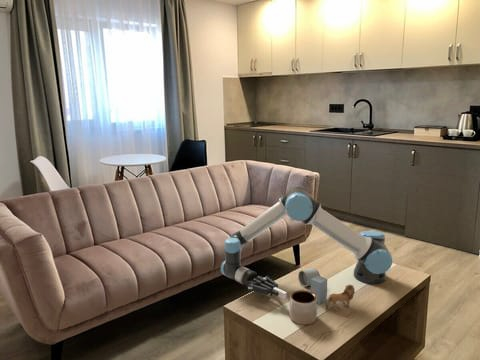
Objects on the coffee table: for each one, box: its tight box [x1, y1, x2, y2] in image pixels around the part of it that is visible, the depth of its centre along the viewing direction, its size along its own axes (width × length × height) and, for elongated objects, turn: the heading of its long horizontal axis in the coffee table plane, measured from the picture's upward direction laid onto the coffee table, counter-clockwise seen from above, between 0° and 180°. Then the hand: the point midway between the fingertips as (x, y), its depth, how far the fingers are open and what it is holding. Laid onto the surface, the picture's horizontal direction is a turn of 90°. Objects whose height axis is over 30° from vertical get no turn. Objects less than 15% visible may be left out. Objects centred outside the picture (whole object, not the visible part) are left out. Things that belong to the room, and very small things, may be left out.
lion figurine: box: [325, 284, 355, 312], centre depth 166 cm, size 15×5×9 cm, turn 117°
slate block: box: [310, 275, 328, 305], centre depth 172 cm, size 5×5×10 cm
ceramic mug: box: [297, 268, 321, 288], centre depth 188 cm, size 11×8×8 cm
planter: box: [289, 289, 318, 326], centre depth 159 cm, size 11×11×10 cm
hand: (285, 296), depth 165 cm, fingers closed
